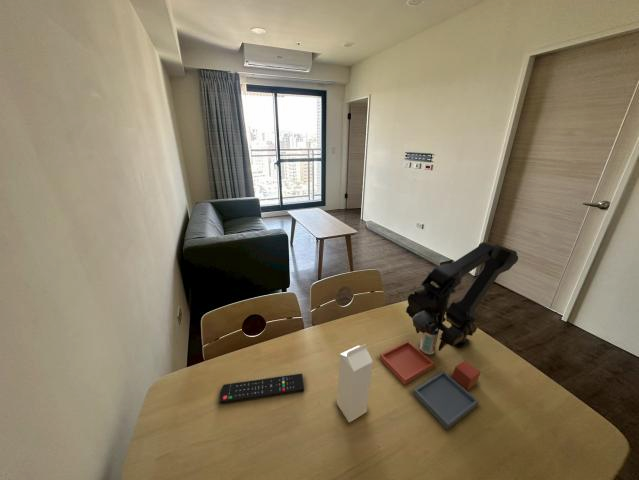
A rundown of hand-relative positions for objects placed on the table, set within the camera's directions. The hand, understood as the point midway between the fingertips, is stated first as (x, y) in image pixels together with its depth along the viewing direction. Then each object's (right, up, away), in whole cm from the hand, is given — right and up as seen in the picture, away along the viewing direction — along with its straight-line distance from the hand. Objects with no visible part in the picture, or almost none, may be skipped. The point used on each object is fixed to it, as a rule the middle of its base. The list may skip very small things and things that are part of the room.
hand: (428, 341), depth 88 cm
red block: (+7, -8, -10) cm, 15 cm away
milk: (-29, -12, -18) cm, 36 cm away
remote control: (-55, -9, -13) cm, 57 cm away
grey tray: (-2, -11, -15) cm, 19 cm away
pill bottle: (0, -4, +2) cm, 4 cm away
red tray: (-9, -6, -4) cm, 12 cm away
